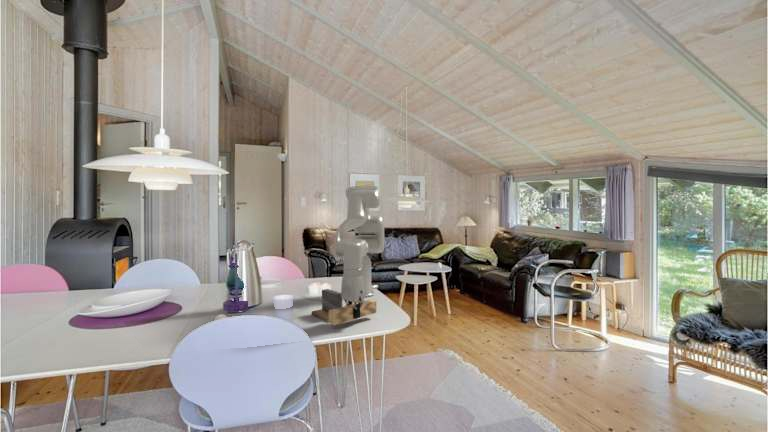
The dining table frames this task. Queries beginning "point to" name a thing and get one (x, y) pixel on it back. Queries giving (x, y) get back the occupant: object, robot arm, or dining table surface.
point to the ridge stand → (328, 303)
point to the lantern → (234, 288)
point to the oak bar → (350, 312)
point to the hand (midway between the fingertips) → (353, 316)
